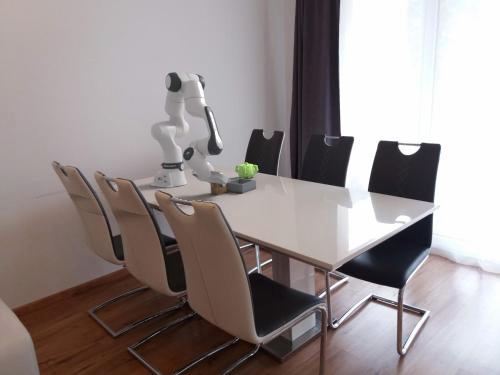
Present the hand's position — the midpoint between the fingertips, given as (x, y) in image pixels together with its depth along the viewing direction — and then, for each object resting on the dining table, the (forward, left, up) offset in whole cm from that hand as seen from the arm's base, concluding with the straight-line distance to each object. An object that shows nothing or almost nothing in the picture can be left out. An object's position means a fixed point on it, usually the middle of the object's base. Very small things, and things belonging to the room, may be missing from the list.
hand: (219, 184), depth 225 cm
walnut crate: (0, -1, -5) cm, 5 cm away
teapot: (+3, +39, -5) cm, 40 cm away
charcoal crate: (+10, +8, -5) cm, 14 cm away
